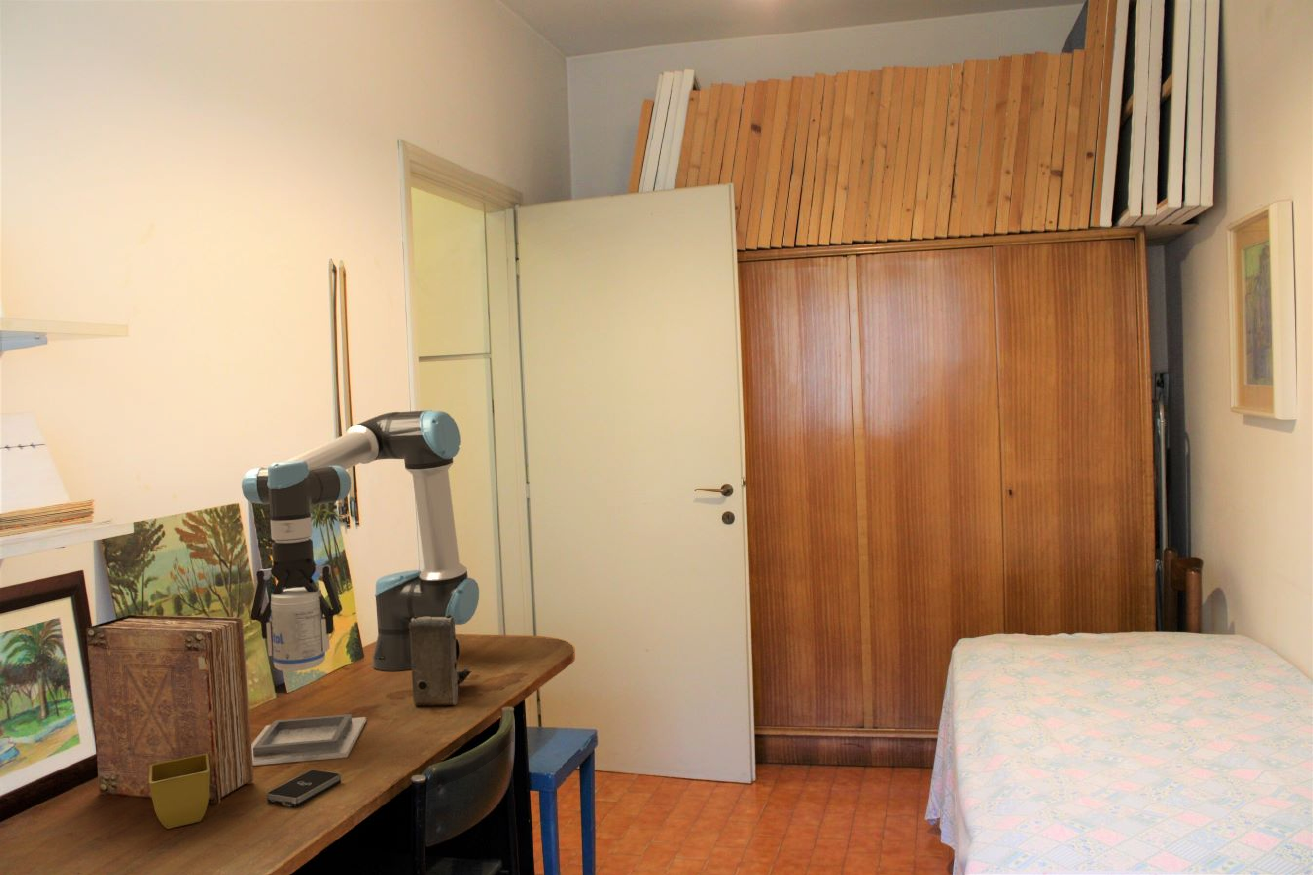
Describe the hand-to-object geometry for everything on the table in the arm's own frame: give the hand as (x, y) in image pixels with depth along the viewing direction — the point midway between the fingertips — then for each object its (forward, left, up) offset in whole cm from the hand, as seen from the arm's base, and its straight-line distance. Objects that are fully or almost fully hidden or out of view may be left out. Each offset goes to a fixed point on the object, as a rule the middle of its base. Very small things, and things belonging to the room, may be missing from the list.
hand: (299, 651), depth 188 cm
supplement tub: (0, 0, -3) cm, 3 cm away
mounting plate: (0, 0, -18) cm, 18 cm away
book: (+18, -18, -19) cm, 31 cm away
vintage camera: (-23, +25, -19) cm, 39 cm away
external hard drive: (+25, +6, -19) cm, 32 cm away
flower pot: (+32, -12, -19) cm, 39 cm away
